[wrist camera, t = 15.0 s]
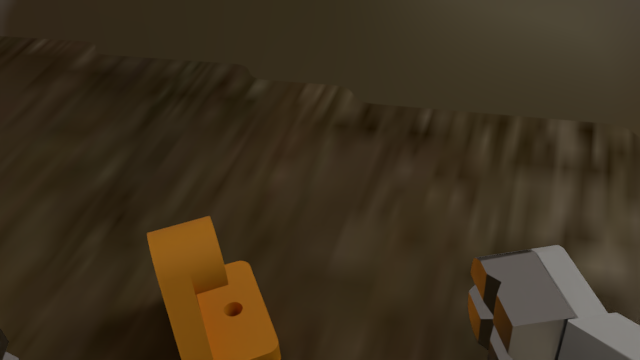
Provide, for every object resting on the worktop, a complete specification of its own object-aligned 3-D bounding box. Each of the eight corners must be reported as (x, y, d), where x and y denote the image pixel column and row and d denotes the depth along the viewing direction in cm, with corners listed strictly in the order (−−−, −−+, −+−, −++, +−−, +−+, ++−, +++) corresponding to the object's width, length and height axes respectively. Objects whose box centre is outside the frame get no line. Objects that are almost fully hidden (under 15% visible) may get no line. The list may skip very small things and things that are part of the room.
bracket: (285, 370, 48) (266, 260, 41) (194, 401, 46) (157, 293, 39) (251, 279, 56) (230, 174, 49) (173, 303, 54) (140, 198, 47)
